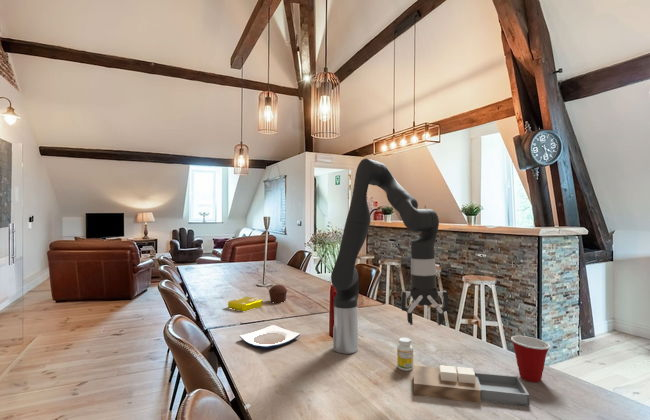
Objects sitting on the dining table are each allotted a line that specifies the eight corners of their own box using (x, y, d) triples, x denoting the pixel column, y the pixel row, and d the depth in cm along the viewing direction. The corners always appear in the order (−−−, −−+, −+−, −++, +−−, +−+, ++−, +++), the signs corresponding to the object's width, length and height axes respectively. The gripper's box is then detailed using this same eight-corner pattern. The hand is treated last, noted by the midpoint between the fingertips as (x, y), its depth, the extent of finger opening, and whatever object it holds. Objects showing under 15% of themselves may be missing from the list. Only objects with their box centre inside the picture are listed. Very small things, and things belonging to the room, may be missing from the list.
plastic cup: (560, 385, 104) (559, 346, 104) (526, 387, 103) (525, 347, 103) (535, 369, 115) (534, 333, 115) (504, 371, 114) (503, 335, 114)
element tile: (246, 303, 210) (246, 295, 210) (263, 306, 201) (263, 298, 201) (226, 309, 198) (226, 300, 198) (244, 313, 189) (243, 304, 189)
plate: (303, 339, 147) (303, 333, 147) (265, 354, 132) (265, 347, 132) (273, 329, 161) (273, 323, 161) (236, 341, 146) (236, 335, 146)
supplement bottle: (409, 372, 114) (408, 343, 114) (394, 368, 118) (394, 340, 118) (416, 366, 118) (415, 339, 118) (402, 362, 122) (401, 335, 122)
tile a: (440, 380, 101) (440, 371, 101) (439, 373, 106) (439, 365, 106) (456, 381, 100) (456, 373, 100) (455, 374, 105) (455, 366, 105)
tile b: (458, 382, 100) (458, 373, 100) (457, 374, 104) (456, 366, 104) (475, 383, 99) (475, 375, 99) (472, 376, 103) (472, 368, 103)
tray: (481, 400, 96) (481, 389, 96) (474, 381, 107) (474, 372, 107) (529, 405, 93) (529, 394, 93) (518, 386, 104) (517, 376, 104)
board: (414, 395, 100) (413, 383, 100) (414, 376, 111) (414, 365, 111) (480, 403, 95) (480, 390, 95) (473, 382, 107) (473, 371, 107)
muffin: (265, 301, 211) (264, 285, 212) (279, 298, 219) (279, 282, 219) (276, 305, 203) (275, 288, 203) (291, 301, 210) (290, 285, 210)
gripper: (444, 270, 110) (446, 321, 110) (399, 270, 112) (400, 320, 112) (449, 274, 102) (451, 328, 102) (401, 274, 104) (402, 327, 104)
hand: (424, 324), depth 107 cm, fingers open, 8 cm apart
